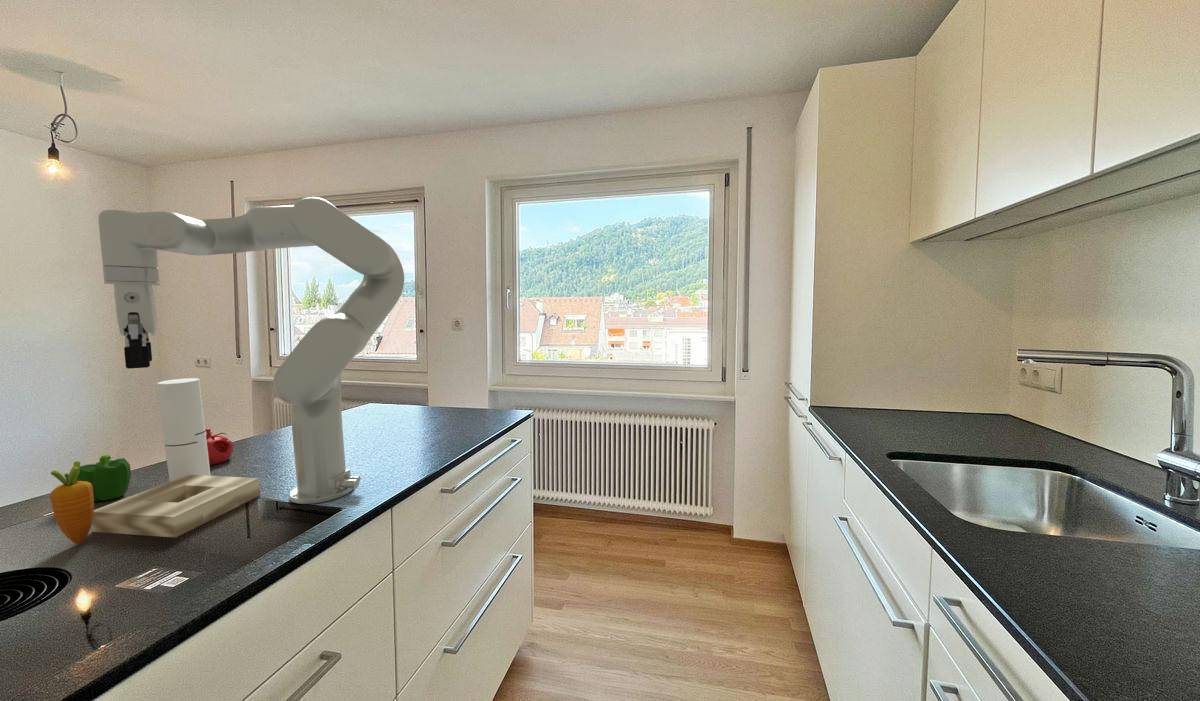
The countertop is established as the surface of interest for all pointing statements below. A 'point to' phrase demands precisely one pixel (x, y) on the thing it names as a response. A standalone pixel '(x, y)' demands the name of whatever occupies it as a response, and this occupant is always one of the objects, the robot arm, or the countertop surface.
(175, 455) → the cylindrical container
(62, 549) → the countertop surface
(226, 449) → the pomegranate
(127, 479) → the bell pepper
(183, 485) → the maple block
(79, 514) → the carrot
